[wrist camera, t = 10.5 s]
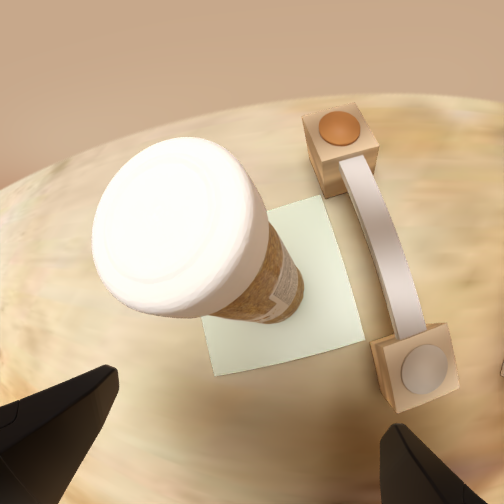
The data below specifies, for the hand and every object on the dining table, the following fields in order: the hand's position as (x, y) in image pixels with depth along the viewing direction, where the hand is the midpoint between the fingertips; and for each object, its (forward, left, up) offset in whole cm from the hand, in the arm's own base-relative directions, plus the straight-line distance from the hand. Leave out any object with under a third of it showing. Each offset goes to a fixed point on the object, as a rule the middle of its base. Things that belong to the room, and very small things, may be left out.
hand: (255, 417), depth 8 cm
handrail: (+9, +1, -10) cm, 14 cm away
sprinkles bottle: (+3, +5, -10) cm, 12 cm away
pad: (+3, +5, -10) cm, 12 cm away
